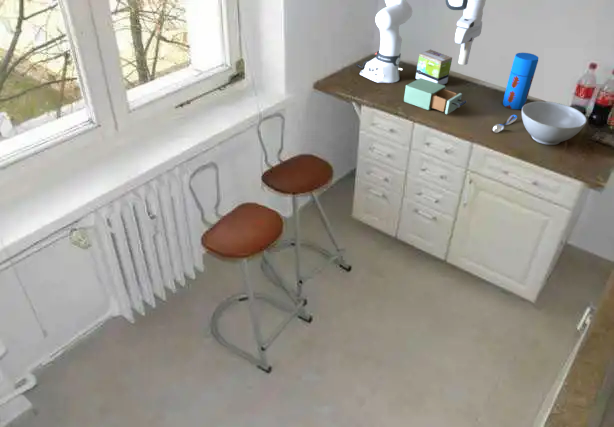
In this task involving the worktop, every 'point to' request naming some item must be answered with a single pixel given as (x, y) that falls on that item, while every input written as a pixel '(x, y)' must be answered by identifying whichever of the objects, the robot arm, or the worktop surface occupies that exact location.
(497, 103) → the worktop surface
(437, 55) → the tea box
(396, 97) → the worktop surface
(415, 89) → the cabinet
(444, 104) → the drawer
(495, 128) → the silver spoon
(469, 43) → the canister with knobbed lid
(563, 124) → the decorative bowl
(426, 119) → the worktop surface
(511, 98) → the thermos
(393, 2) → the robot arm
